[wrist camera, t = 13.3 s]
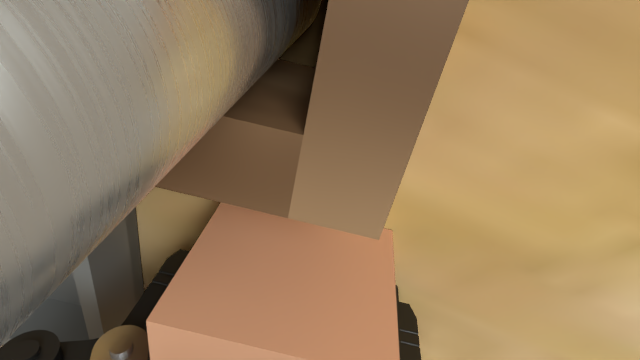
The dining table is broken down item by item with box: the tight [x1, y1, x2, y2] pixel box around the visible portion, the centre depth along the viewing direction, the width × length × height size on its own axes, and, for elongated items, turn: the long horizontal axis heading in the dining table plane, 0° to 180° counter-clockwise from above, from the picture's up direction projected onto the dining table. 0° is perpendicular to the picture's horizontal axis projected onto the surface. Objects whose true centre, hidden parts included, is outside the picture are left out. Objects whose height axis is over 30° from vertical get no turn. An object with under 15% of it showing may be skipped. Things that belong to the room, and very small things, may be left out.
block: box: [146, 202, 400, 360], centre depth 11 cm, size 6×6×5 cm
